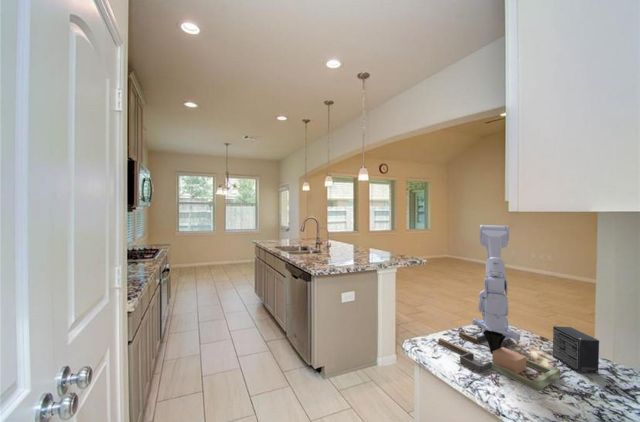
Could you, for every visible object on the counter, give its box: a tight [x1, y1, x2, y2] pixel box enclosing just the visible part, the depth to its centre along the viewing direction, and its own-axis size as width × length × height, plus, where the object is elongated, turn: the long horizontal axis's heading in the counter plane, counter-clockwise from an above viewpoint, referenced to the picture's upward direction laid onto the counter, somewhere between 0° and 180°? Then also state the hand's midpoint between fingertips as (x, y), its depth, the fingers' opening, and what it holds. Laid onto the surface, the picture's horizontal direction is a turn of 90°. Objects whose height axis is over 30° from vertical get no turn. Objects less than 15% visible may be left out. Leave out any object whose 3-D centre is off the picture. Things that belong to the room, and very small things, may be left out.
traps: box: [459, 335, 505, 374], centre depth 98 cm, size 25×13×2 cm, turn 119°
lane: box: [438, 331, 561, 392], centre depth 95 cm, size 13×32×2 cm, turn 29°
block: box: [492, 346, 527, 375], centre depth 91 cm, size 6×7×4 cm
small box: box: [552, 325, 600, 375], centre depth 92 cm, size 11×6×10 cm, turn 179°
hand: (494, 353), depth 95 cm, fingers closed
